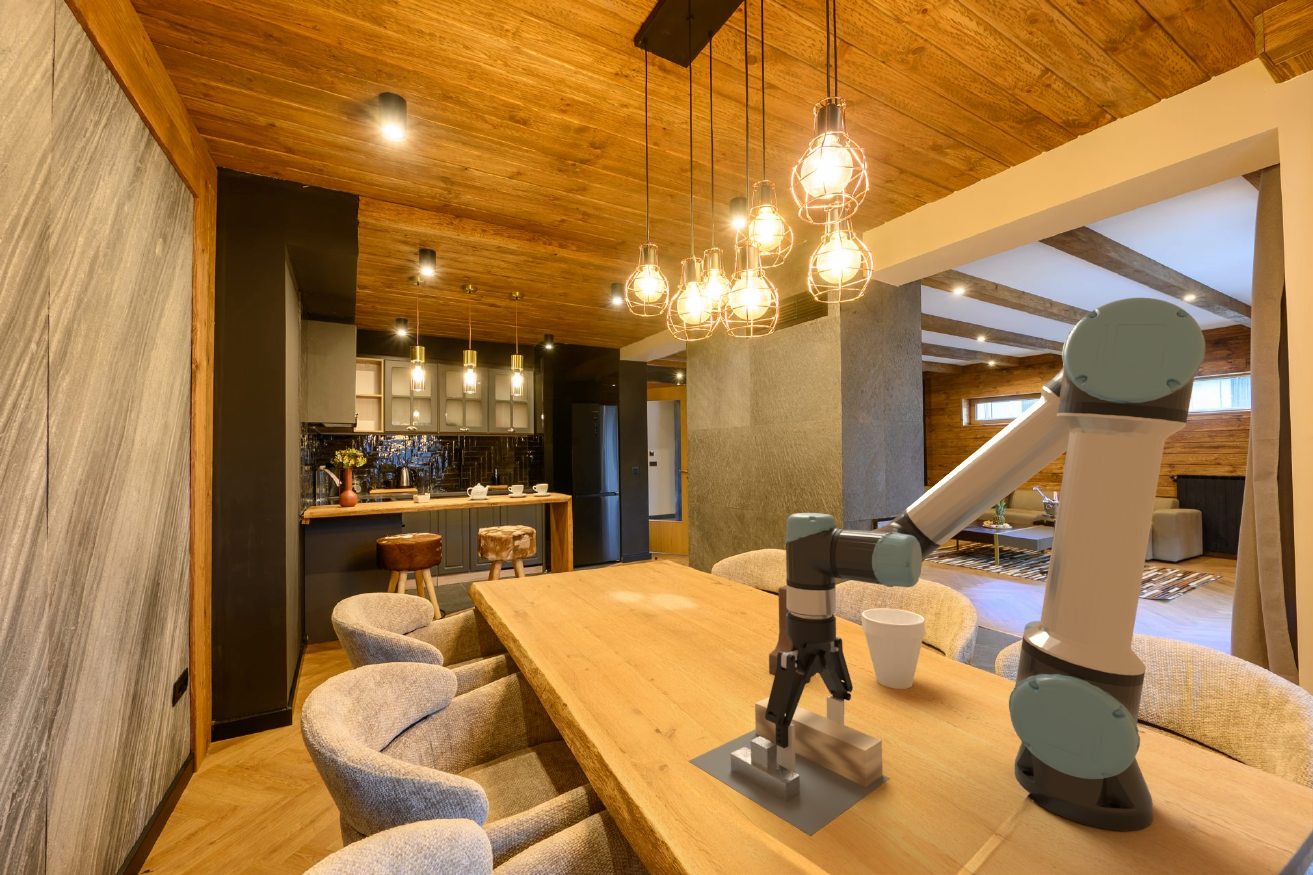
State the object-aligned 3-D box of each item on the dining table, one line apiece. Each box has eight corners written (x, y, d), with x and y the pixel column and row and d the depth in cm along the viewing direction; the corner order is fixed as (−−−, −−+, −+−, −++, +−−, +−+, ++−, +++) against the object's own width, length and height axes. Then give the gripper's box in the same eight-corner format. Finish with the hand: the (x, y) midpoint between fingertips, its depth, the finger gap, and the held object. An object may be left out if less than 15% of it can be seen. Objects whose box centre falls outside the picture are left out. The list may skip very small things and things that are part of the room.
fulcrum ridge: (799, 794, 76) (799, 753, 76) (786, 802, 74) (785, 760, 74) (744, 763, 84) (744, 726, 84) (730, 770, 82) (730, 732, 82)
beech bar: (882, 775, 80) (881, 740, 80) (866, 787, 77) (865, 750, 78) (772, 725, 96) (772, 695, 96) (755, 733, 93) (755, 703, 93)
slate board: (890, 785, 80) (890, 778, 80) (810, 844, 68) (810, 835, 68) (769, 728, 97) (769, 722, 97) (688, 767, 85) (688, 761, 85)
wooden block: (787, 680, 118) (785, 594, 118) (768, 675, 121) (767, 591, 121) (807, 668, 124) (805, 586, 125) (789, 663, 127) (787, 584, 128)
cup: (850, 676, 119) (848, 612, 120) (893, 667, 124) (891, 605, 125) (895, 699, 108) (893, 627, 108) (941, 688, 113) (939, 620, 113)
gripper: (834, 596, 98) (835, 720, 97) (740, 621, 83) (740, 769, 82) (873, 604, 92) (875, 737, 91) (781, 633, 77) (782, 793, 76)
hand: (811, 752), depth 86 cm, fingers open, 12 cm apart
